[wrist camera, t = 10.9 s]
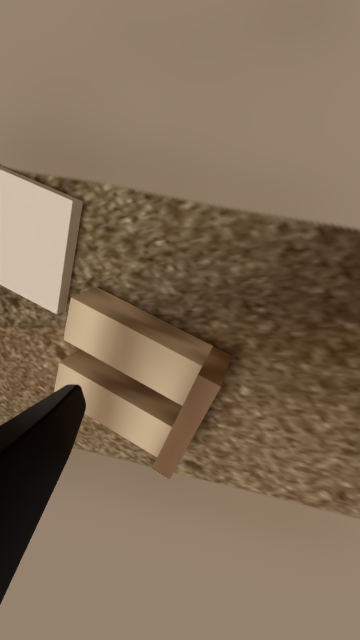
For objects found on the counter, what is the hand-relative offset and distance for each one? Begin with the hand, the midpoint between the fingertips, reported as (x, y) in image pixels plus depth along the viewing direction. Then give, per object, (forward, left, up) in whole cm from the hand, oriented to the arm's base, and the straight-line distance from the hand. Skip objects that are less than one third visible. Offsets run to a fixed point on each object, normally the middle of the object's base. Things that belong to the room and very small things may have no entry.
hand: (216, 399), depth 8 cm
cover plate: (+7, +12, -10) cm, 17 cm away
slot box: (-2, +10, -10) cm, 15 cm away
